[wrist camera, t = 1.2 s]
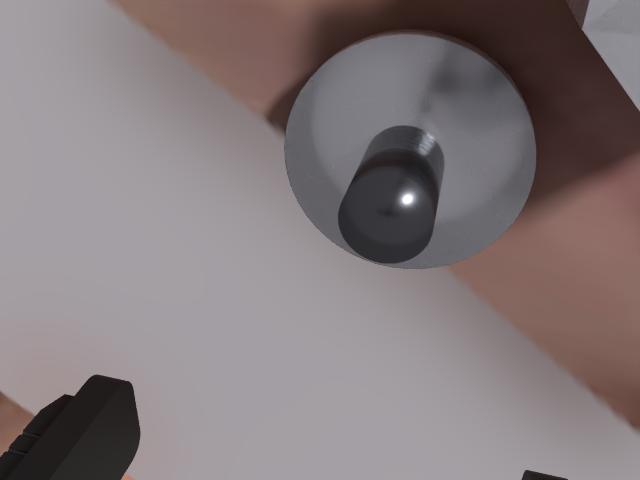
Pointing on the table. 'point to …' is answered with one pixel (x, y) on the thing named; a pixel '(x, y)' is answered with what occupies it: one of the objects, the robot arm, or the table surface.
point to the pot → (614, 37)
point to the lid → (411, 149)
